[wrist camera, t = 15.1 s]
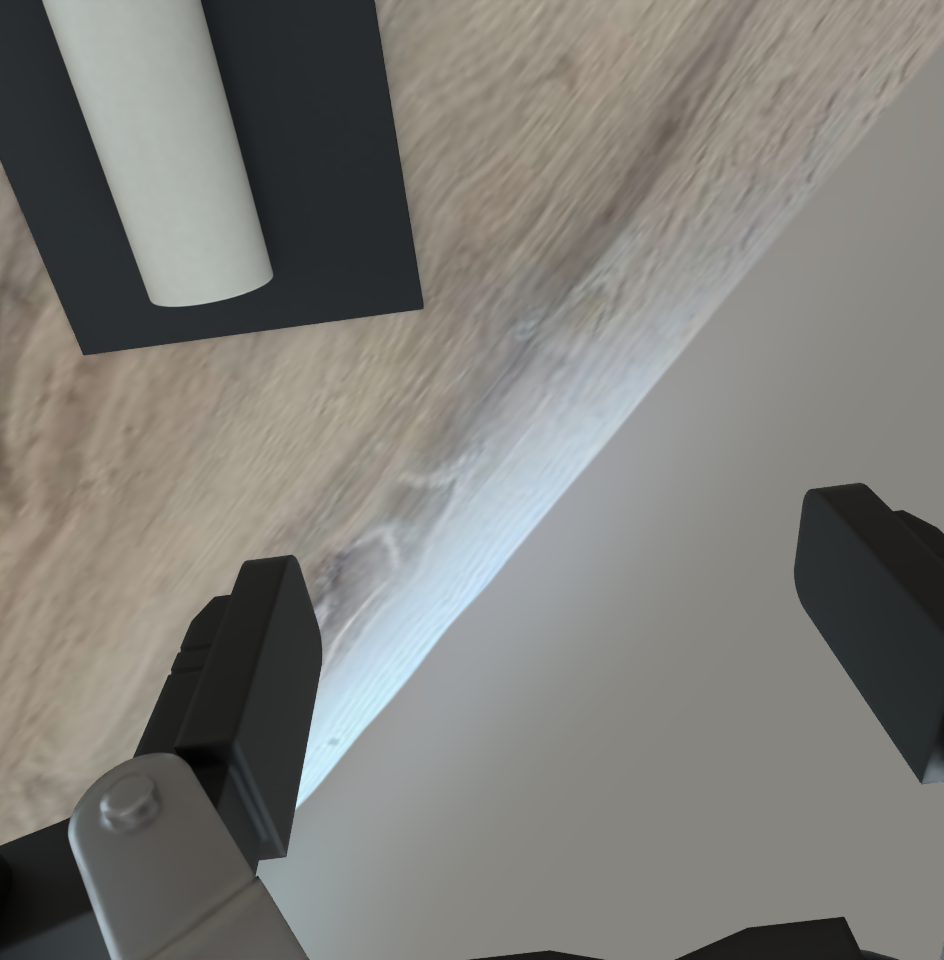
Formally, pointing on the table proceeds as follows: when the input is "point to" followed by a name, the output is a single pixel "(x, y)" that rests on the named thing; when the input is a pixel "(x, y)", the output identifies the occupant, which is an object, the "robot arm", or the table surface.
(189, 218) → the towel roll
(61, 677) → the table surface
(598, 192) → the table surface
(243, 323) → the mat
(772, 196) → the table surface
